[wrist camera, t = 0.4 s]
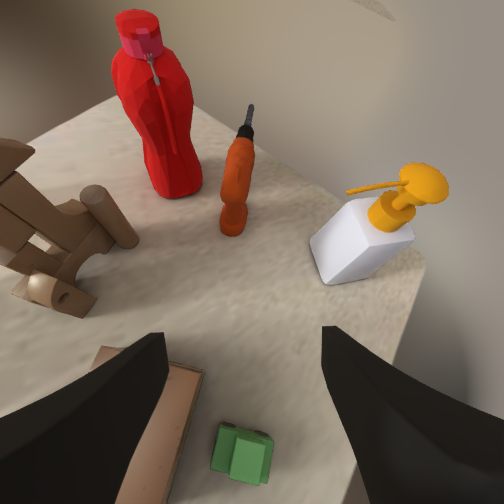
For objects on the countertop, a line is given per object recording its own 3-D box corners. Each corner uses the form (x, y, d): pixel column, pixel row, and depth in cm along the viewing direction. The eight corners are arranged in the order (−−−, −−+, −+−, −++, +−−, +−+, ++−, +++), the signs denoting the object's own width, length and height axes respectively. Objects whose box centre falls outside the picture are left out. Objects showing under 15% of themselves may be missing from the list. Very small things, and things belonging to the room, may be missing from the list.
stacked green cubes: (269, 433, 32) (277, 445, 27) (262, 472, 30) (270, 492, 25) (220, 420, 32) (219, 430, 27) (210, 458, 30) (208, 476, 25)
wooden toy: (83, 321, 35) (-171, 249, 12) (43, 303, 35) (-275, 201, 13) (142, 237, 41) (48, 88, 19) (108, 222, 42) (-25, 60, 19)
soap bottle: (283, 243, 44) (335, 145, 24) (350, 233, 47) (446, 137, 27) (298, 293, 40) (374, 226, 20) (369, 279, 43) (499, 207, 23)
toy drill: (257, 158, 50) (269, 91, 36) (242, 240, 44) (249, 199, 30) (234, 153, 50) (237, 84, 36) (216, 235, 44) (211, 192, 30)
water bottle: (163, 213, 44) (102, 56, 21) (146, 170, 47) (78, -4, 25) (211, 198, 46) (200, 44, 24) (191, 158, 50) (166, -8, 27)
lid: (202, 373, 27) (200, 373, 26) (147, 561, 20) (142, 567, 20) (105, 346, 30) (101, 345, 29) (31, 501, 23) (23, 505, 23)
